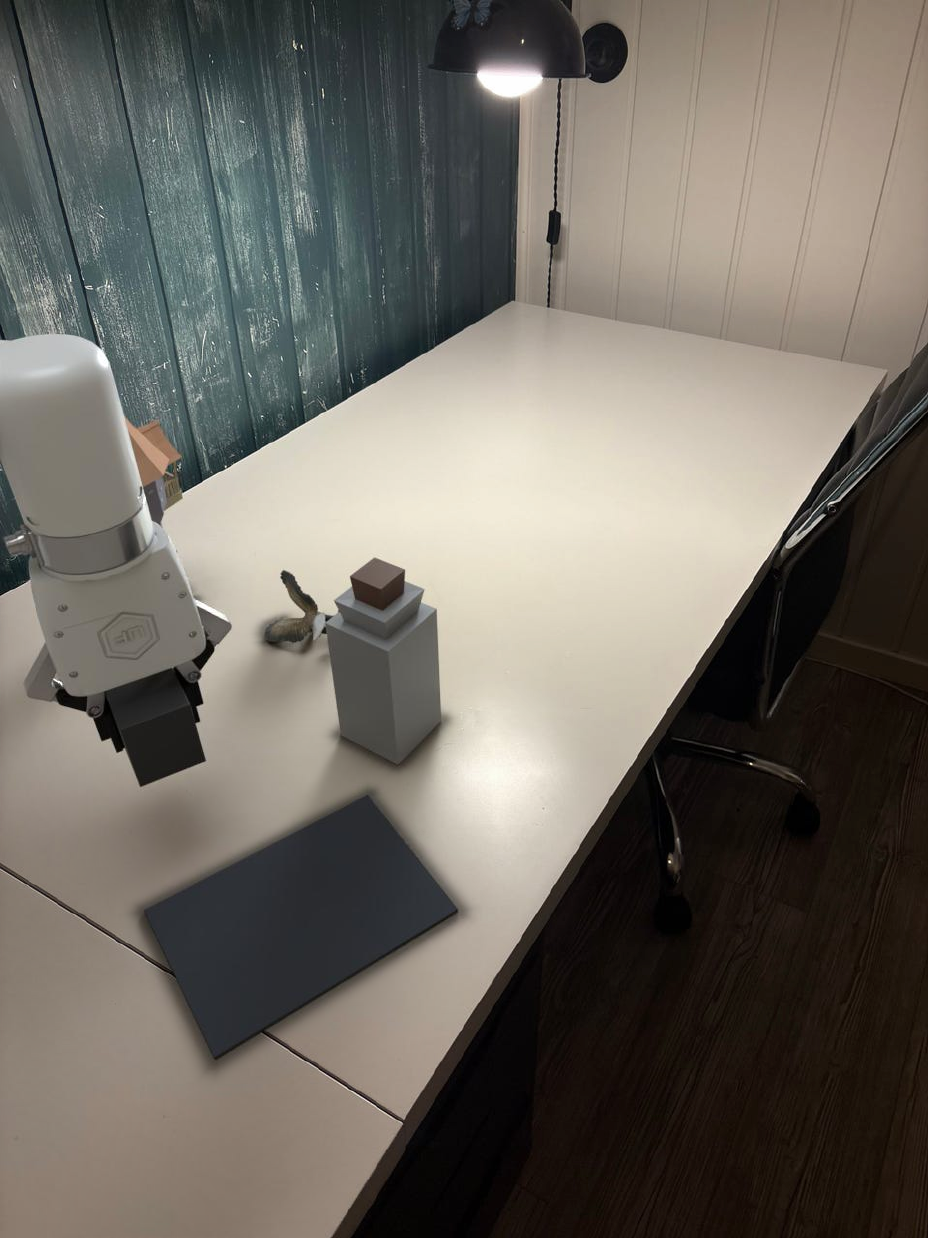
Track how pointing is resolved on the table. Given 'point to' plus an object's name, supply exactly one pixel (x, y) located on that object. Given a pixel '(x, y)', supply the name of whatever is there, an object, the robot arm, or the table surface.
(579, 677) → the table surface
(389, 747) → the perfume bottle
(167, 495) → the model tower
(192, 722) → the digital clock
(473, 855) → the table surface
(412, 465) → the table surface
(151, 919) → the rubber mat
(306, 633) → the eagle figurine
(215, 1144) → the table surface
